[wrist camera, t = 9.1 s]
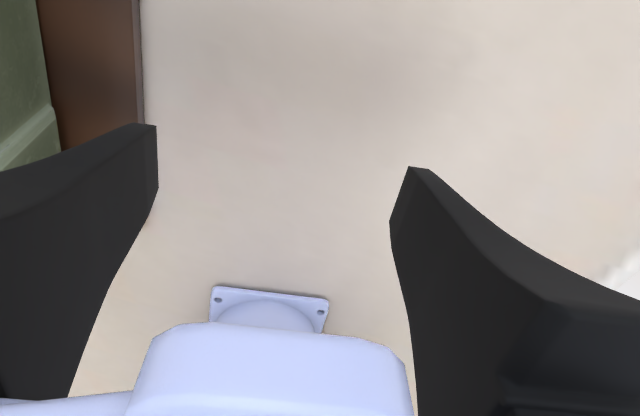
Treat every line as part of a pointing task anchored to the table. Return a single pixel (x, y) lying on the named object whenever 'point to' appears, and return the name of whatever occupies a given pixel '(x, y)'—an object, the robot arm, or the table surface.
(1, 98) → the handheld radio
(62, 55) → the walnut board
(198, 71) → the table surface
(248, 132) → the table surface
